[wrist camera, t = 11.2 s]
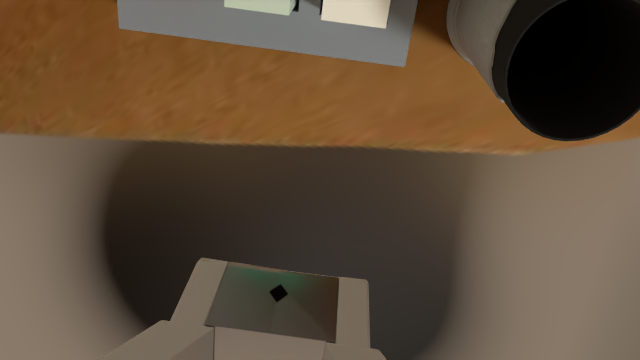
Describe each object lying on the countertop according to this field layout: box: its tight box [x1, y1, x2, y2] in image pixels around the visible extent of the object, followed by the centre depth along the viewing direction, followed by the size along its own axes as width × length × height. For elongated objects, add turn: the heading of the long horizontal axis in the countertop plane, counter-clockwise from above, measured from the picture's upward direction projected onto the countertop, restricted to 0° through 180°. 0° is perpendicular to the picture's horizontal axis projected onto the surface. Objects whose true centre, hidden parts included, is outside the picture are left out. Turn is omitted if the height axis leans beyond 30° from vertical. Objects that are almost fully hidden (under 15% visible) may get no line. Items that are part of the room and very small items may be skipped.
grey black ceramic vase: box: [446, 0, 640, 141], centre depth 31 cm, size 9×14×15 cm, turn 91°
